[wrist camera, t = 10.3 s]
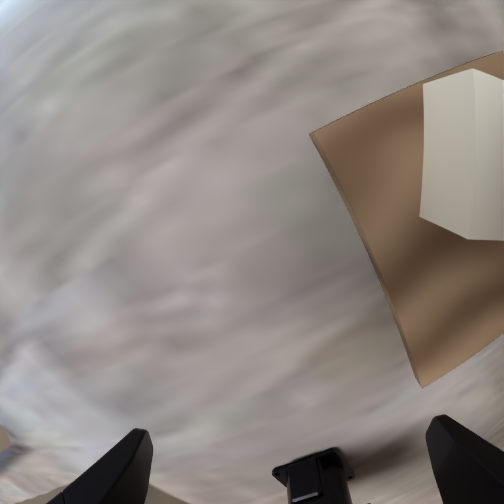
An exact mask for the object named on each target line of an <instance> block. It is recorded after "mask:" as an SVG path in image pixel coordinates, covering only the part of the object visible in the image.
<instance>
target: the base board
mask: <svg viewBox="0 0 504 504" xmlns="http://www.w3.org/2000/svg"><path fill="white" fill-rule="evenodd" d="M472 68H473V69H476V70H479V71H482V72H484V73H487V74H489V75H492V76H494V77H497V78H499V79H502V80H504V54H503V52H502V51H501V52H497V53H494V54H491V55H488V56H485V57H482V58H479V59H477V60H474V61H471V62H468V63H466V64H463V65H460V66H458V67H455V68H453V69H450V70H448V71H445V72H443V73H440V74H438V75H435V76H433V77H430V78H428V79H425V80H423V81H421V82H418V83H416V84H414V85H411V86H409V87H407V88H404V89H402V90H400V91H398V92H395V93H393V94H391V95H389V96H386V97H384V98H382V99H380V100H378V101H375V102H373V103H371V104H369V105H367V106H365V107H363V108H360V109H358V110H356V111H354V112H352V113H350V114H348V115H346V116H344V117H342V118H340V119H338V120H336V121H334V122H332V123H330V124H328V125H326V126H324V127H322V128H320V129H318V130H316V131H314V132H312V133H310V134H309V136H310V137H311V139H312V141H313V143H314V145H315V146H316V148H317V150H318V152H319V154H320V156H321V158H322V159H323V161H324V163H325V165H326V167H327V169H328V171H329V173H330V175H331V177H332V179H333V181H334V182H335V184H336V186H337V188H338V190H339V192H340V194H341V196H342V198H343V201H344V203H345V205H346V207H347V209H348V211H349V213H350V215H351V217H352V219H353V221H354V223H355V226H356V228H357V230H358V232H359V234H360V236H361V239H362V241H363V243H364V245H365V248H366V250H367V252H368V254H369V257H370V259H371V261H372V264H373V266H374V268H375V271H376V273H377V275H378V278H379V280H380V283H381V285H382V288H383V290H384V292H385V295H386V298H387V300H388V303H389V305H390V308H391V310H392V313H393V316H394V318H395V321H396V324H397V326H398V329H399V332H400V334H401V337H402V340H403V343H404V346H405V349H406V351H407V354H408V357H409V360H410V363H411V366H412V369H413V372H414V375H415V378H416V380H417V381H418V383H419V384H420V386H421V388H422V389H423V388H424V387H426V386H428V385H429V384H431V383H433V382H434V381H436V380H437V379H439V378H441V377H442V376H444V375H445V374H447V373H448V372H450V371H451V370H453V369H455V368H456V367H458V366H459V365H461V364H462V363H463V362H465V361H466V360H468V359H469V358H471V357H472V356H473V355H475V354H476V353H478V352H479V351H480V350H482V349H483V348H485V347H486V346H487V345H489V344H490V343H491V342H492V341H494V340H495V339H496V338H498V337H499V336H500V335H501V334H503V333H504V241H500V240H471V239H466V238H464V237H462V236H460V235H458V234H456V233H454V232H452V231H449V230H447V229H445V228H443V227H441V226H439V225H437V224H434V223H432V222H430V221H428V220H426V219H423V218H421V217H419V214H420V203H421V191H422V176H423V153H424V102H423V84H425V83H428V82H431V81H434V80H437V79H440V78H443V77H446V76H449V75H452V74H455V73H459V72H462V71H465V70H469V69H472Z"/></svg>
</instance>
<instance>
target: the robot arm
mask: <svg viewBox="0 0 504 504" xmlns="http://www.w3.org/2000/svg"><path fill="white" fill-rule="evenodd" d="M426 442H427V447H428V451H429V455H430V460H431V464H432V469H433V473H434V476H435V479H436V482H437V485H438V488H439V491H440V495H441V498H442V501H443V504H504V451H502V450H500V449H499V448H497V447H496V446H494V445H492V444H491V443H489V442H488V441H486V440H485V439H483V438H481V437H480V436H478V435H477V434H475V433H474V432H472V431H470V430H469V429H467V428H466V427H464V426H463V425H461V424H459V423H458V422H456V421H455V420H453V419H452V418H450V417H449V416H447V415H439V416H435V417H434V418H433V419H432V421H431V423H430V426H429V428H428V430H427V432H426ZM152 456H153V444H152V441H151V438H150V435H149V432H148V431H147V430H145V429H139V428H135V429H133V430H132V431H130V432H129V433H128V434H127V435H126V436H125V437H124V438H123V439H122V440H120V441H119V442H118V443H117V444H116V445H115V446H114V447H113V448H112V449H110V450H109V451H108V452H107V453H106V454H105V455H104V456H102V457H101V458H100V459H99V460H98V461H97V462H96V463H94V464H93V465H92V466H91V467H90V468H89V469H87V470H86V471H85V472H84V473H83V474H82V475H80V476H79V477H78V478H77V479H76V480H75V481H73V482H72V483H71V484H70V485H69V486H67V487H66V488H65V489H64V490H63V492H60V493H59V494H58V495H57V496H55V497H54V498H53V499H52V500H50V501H49V502H48V503H46V504H144V503H145V499H146V495H147V491H148V485H149V477H150V470H151V463H152ZM272 475H273V476H274V477H275V478H276V479H277V480H278V481H280V482H281V483H282V484H283V485H284V486H285V487H287V494H288V504H352V500H351V496H350V492H349V488H348V484H347V481H349V480H351V479H353V478H355V475H354V472H353V471H352V470H351V468H350V467H349V466H348V464H347V463H346V462H345V460H344V459H343V458H342V457H341V455H340V454H339V453H338V451H337V450H336V449H330V450H327V451H325V452H322V453H320V454H317V455H314V456H312V457H309V458H306V459H303V460H301V461H298V462H295V463H292V464H289V465H286V466H283V467H279V468H276V469H274V470H272ZM368 504H371V503H368Z"/></svg>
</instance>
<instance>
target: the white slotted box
mask: <svg viewBox="0 0 504 504" xmlns="http://www.w3.org/2000/svg"><path fill="white" fill-rule="evenodd" d="M423 102H424V153H423V176H422V191H421V203H420V214H419V217H421V218H423V219H426V220H428V221H430V222H432V223H434V224H437V225H439V226H441V227H443V228H445V229H447V230H449V231H452V232H454V233H456V234H458V235H460V236H462V237H464V238H466V239H471V240H500V241H504V80H502V79H499V78H497V77H494V76H492V75H489V74H487V73H484V72H482V71H479V70H476V69H473V68H472V69H469V70H465V71H462V72H459V73H455V74H452V75H449V76H446V77H443V78H440V79H437V80H434V81H431V82H428V83H425V84H423Z"/></svg>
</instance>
